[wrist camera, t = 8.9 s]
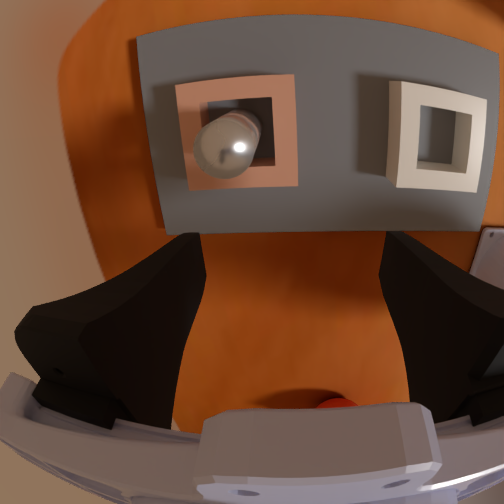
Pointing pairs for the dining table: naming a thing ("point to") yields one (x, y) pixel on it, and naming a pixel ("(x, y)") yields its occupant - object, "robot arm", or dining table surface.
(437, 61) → the board
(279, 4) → the dining table surface
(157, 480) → the robot arm
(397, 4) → the dining table surface
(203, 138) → the lock pin
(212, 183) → the socket
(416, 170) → the pin mount
